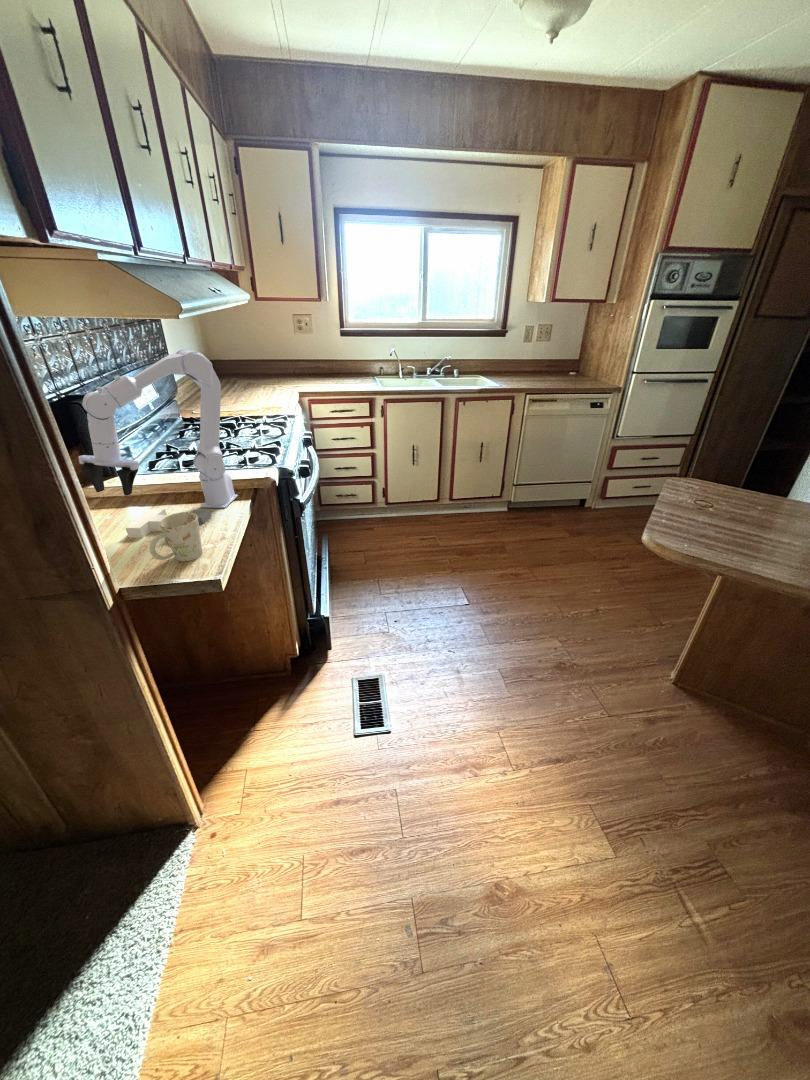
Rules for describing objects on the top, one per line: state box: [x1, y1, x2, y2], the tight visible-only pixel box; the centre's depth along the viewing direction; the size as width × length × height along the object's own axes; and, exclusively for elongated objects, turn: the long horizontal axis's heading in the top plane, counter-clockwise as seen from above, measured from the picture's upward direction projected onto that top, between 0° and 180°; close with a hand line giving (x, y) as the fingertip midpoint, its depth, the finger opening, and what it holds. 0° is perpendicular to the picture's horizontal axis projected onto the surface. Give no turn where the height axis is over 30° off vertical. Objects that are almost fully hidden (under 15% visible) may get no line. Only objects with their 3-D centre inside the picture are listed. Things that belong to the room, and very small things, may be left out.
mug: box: [149, 511, 203, 562], centre depth 103 cm, size 8×13×10 cm, turn 149°
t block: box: [125, 508, 171, 539], centre depth 119 cm, size 12×11×3 cm
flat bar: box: [164, 509, 212, 543], centre depth 119 cm, size 16×5×2 cm, turn 176°
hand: (114, 492), depth 114 cm, fingers open, 7 cm apart
